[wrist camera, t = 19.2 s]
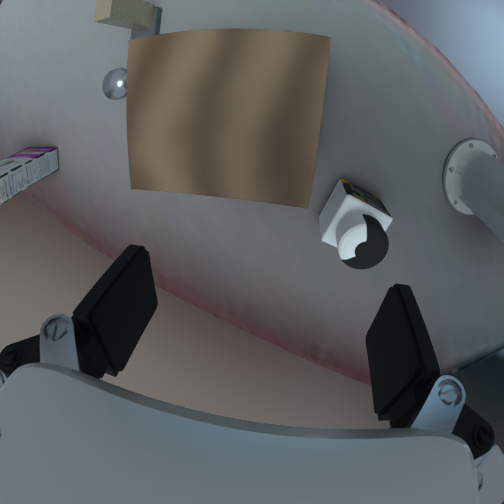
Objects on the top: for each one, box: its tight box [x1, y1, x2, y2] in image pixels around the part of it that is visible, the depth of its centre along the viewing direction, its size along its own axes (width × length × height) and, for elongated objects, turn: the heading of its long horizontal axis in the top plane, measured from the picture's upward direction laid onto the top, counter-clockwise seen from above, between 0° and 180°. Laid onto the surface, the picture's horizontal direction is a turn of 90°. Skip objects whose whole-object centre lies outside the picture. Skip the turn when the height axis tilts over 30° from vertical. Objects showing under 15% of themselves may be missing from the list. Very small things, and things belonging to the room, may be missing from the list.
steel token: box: [103, 69, 127, 99], centre depth 32 cm, size 5×5×2 cm
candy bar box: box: [0, 147, 59, 205], centre depth 34 cm, size 11×5×16 cm, turn 82°
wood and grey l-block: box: [94, 0, 162, 40], centre depth 25 cm, size 4×16×12 cm, turn 176°
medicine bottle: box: [319, 179, 392, 269], centre depth 34 cm, size 7×7×12 cm
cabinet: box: [127, 29, 331, 208], centre depth 26 cm, size 17×16×16 cm
